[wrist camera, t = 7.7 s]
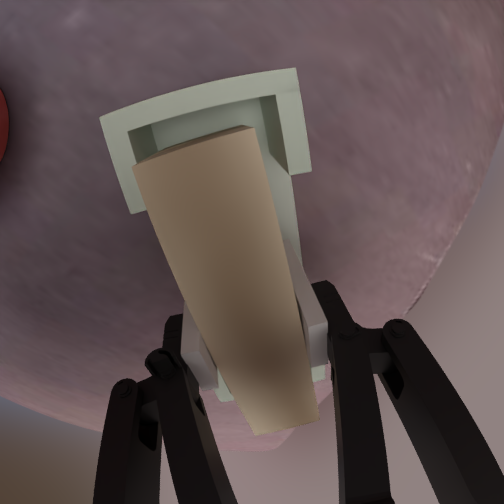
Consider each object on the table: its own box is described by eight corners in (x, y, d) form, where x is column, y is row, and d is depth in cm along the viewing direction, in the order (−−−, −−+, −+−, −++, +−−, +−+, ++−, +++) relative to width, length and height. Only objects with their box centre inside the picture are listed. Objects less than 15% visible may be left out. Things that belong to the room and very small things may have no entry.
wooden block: (246, 368, 21) (255, 435, 16) (164, 148, 14) (131, 166, 9) (299, 354, 21) (319, 419, 15) (241, 124, 14) (254, 127, 8)
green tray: (217, 353, 24) (220, 402, 20) (130, 108, 14) (99, 117, 10) (308, 333, 25) (325, 378, 20) (271, 74, 14) (295, 67, 10)
